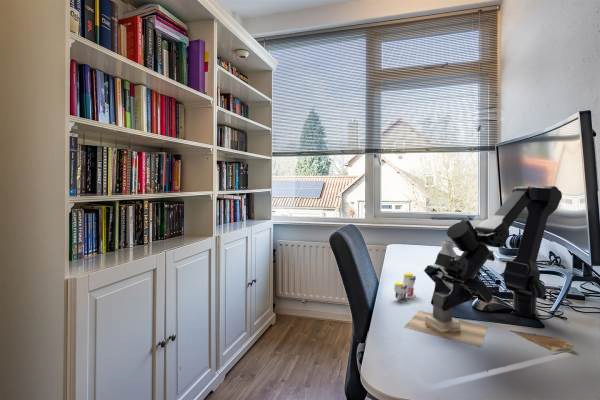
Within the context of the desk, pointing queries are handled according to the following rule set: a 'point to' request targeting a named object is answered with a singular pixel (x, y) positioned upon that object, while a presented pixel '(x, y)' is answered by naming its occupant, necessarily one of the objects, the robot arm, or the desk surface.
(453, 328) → the grey block on base
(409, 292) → the toy figures
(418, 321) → the oak board
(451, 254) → the plastic bottle
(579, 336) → the desk surface
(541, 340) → the shard
